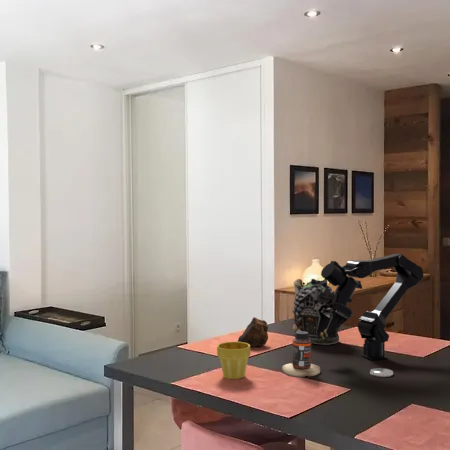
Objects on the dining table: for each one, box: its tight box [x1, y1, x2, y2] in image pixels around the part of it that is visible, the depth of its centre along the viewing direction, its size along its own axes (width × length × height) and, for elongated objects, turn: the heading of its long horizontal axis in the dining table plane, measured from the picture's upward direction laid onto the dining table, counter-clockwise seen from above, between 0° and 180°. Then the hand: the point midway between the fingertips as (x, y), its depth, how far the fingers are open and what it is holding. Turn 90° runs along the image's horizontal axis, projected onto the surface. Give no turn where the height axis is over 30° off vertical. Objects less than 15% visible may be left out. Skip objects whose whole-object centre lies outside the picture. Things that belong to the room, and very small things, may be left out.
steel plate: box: [369, 367, 394, 378], centre depth 182 cm, size 7×7×1 cm
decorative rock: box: [237, 316, 269, 348], centre depth 220 cm, size 12×6×11 cm, turn 104°
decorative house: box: [291, 278, 341, 345], centre depth 228 cm, size 21×15×25 cm
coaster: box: [281, 363, 321, 378], centre depth 185 cm, size 12×12×1 cm
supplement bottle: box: [291, 331, 312, 369], centre depth 185 cm, size 6×6×11 cm
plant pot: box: [216, 341, 251, 380], centre depth 180 cm, size 10×10×10 cm
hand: (322, 333), depth 191 cm, fingers open, 9 cm apart
